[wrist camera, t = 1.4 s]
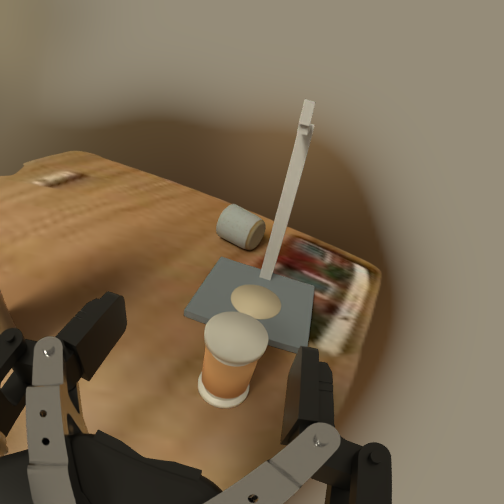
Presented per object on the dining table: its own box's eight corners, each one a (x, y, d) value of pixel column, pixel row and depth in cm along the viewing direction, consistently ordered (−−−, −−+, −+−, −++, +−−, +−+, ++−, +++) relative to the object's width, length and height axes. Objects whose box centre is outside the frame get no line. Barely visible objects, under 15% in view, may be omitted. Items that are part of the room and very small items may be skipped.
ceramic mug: (245, 257, 56) (253, 222, 52) (213, 240, 59) (218, 207, 55) (269, 241, 64) (278, 210, 61) (240, 227, 67) (246, 197, 64)
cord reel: (190, 397, 28) (194, 345, 23) (207, 360, 33) (217, 304, 28) (240, 415, 28) (260, 367, 23) (253, 376, 33) (273, 322, 28)
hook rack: (183, 315, 39) (216, 79, 24) (220, 262, 53) (254, 91, 37) (303, 355, 37) (398, 127, 22) (312, 291, 51) (371, 123, 35)
